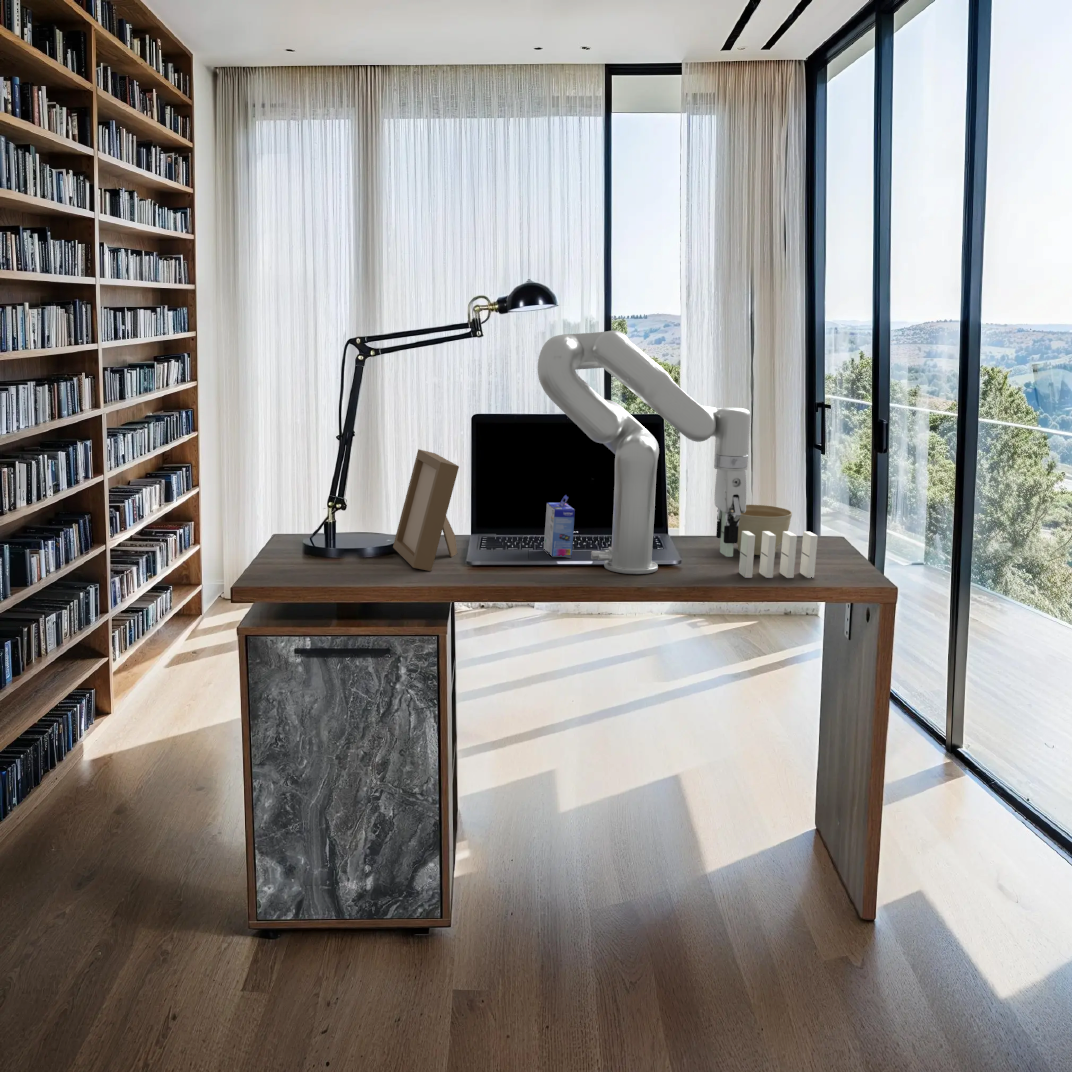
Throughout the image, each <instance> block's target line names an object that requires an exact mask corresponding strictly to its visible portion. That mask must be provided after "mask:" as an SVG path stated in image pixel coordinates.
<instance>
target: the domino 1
mask: <svg viewBox="0 0 1072 1072" xmlns="http://www.w3.org/2000/svg"><path fill="white" fill-rule="evenodd" d="M729 512H732V511H729ZM731 516H733V515H729V520H730V517H731ZM724 526H726V513H725V512H723V511H722V520H721V538H719V539H720V542H719V543H720V544H719V553H720V554H722V555H724V557H727V558H728V557H729V558H730V557H732V558H733V557H734V544H735V543H724Z"/></svg>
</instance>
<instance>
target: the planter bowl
mask: <svg viewBox="0 0 1072 1072" xmlns="http://www.w3.org/2000/svg"><path fill="white" fill-rule="evenodd" d="M731 511H732V512H733V510H731ZM792 516H793V512H792V511H791V510H789V509H787V508H783V507H779V506H775V505H765V504H746V512H745V513H741V516H740V519H739V527H738V542H737V543H735V544H736V545H737V551H738V552H740V549H741V536H742V531H749V532H751V533H752V534H754V535H755V546H754V556H755V555H756V556H761V543H762V531H769V532H771V533H773V534H774V535H776V544H775V553H776V552H777V550H778V549H777V548H778V547H779V546H780V545H782V537H783V531H789V528H790V524H791V518H792Z"/></svg>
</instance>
